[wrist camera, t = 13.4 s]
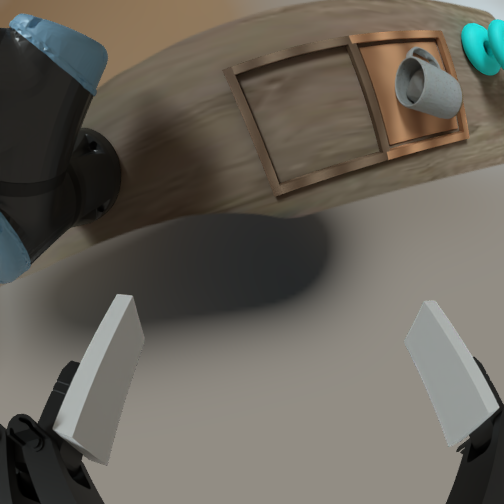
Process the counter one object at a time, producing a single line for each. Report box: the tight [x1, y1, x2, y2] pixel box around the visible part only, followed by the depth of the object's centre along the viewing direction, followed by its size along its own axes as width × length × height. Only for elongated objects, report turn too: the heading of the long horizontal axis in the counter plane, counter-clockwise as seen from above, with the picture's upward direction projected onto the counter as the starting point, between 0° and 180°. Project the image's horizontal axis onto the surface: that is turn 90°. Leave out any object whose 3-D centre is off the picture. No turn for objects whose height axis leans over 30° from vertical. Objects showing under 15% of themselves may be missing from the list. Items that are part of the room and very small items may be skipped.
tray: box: [222, 30, 469, 197], centre depth 30 cm, size 35×18×1 cm, turn 111°
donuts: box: [461, 20, 504, 75], centre depth 19 cm, size 10×10×10 cm
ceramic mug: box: [395, 47, 463, 119], centre depth 25 cm, size 11×8×8 cm
